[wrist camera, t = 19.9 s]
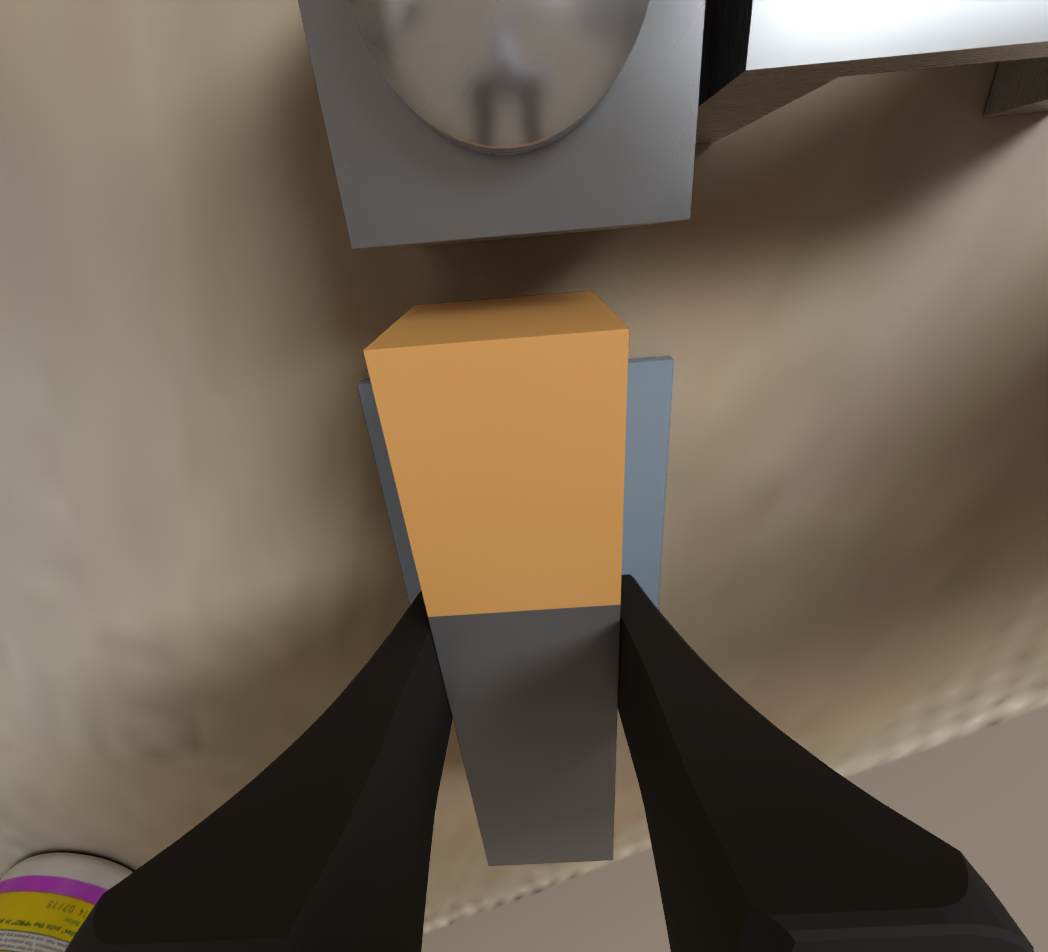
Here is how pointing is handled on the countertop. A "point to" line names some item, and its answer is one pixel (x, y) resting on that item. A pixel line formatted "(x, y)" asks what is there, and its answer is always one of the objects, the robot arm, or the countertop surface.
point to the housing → (602, 97)
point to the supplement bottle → (52, 899)
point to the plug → (518, 549)
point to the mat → (641, 476)
